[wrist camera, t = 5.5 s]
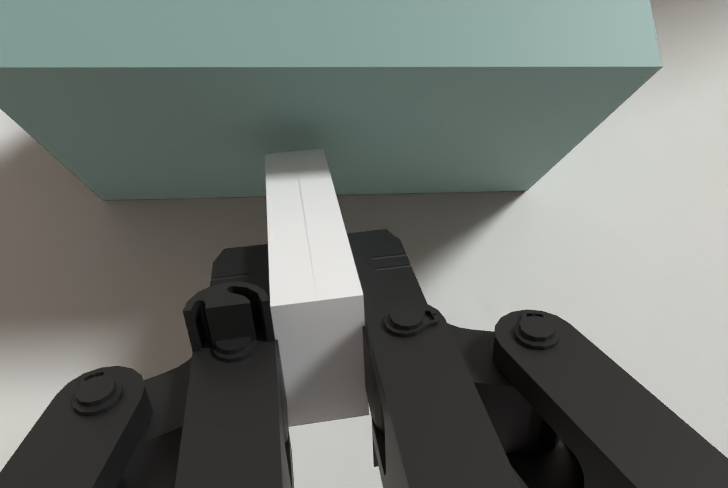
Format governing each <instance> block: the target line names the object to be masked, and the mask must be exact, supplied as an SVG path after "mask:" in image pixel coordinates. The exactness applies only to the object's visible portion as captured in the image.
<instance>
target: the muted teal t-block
mask: <svg viewBox="0 0 728 488" xmlns="http://www.w3.org/2000/svg"><path fill="white" fill-rule="evenodd" d="M662 67H663V66H662V61H661V55H660V50H659V45H658V40H657V34H656V29H655V24H654V19H653V13H652V8H651V3H650V0H0V109H1V110H3V111H4V112H5V113H6V114H7V115H8V116H9V117H10V118H12V119H13V120H14V121H15V122H16V123H17V124H18V125H19V126H20V127H22V128H23V129H24V130H25V131H26V132H27V133H28V134H29V135H31V136H32V137H33V138H34V139H35V140H36V141H37V142H38V143H39V144H41V145H42V146H43V147H44V148H45V149H46V150H47V151H48V152H50V153H51V154H52V155H53V156H54V157H55V158H56V159H57V160H58V161H60V162H61V163H62V164H63V165H64V166H65V167H66V168H67V169H69V170H70V171H71V172H72V173H73V174H74V175H75V176H76V177H77V178H79V179H80V180H81V181H82V182H83V183H84V184H85V185H86V186H88V187H89V188H90V189H91V190H92V191H93V192H94V193H95V194H96V195H98V196H99V197H100V198H101V199H102V200H134V199H178V198H223V197H266V172H265V154H270V153H281V152H291V151H302V150H313V149H324V153H325V156H326V160H327V164H328V167H329V171H330V175H331V178H332V182H333V186H334V189H335V193H336V195H357V194H402V193H446V192H491V191H527V190H528V189H529V188H530V187H532V186H533V185H534V184H535V183H536V182H537V181H538V180H539V179H540V178H541V177H542V176H544V175H545V174H546V173H547V172H548V171H549V170H550V169H551V168H552V167H553V166H555V165H556V164H557V163H558V162H559V161H560V160H561V159H562V158H563V157H564V156H565V155H567V154H568V153H569V152H570V151H571V150H572V149H573V148H574V147H575V146H576V145H577V144H579V143H580V142H581V141H582V140H583V139H584V138H585V137H586V136H587V135H588V134H589V133H591V132H592V131H593V130H594V129H595V128H596V127H597V126H598V125H599V124H600V123H602V122H603V121H604V120H605V119H606V118H607V117H608V116H609V115H610V114H611V113H612V112H614V111H615V110H616V109H617V108H618V107H619V106H620V105H621V104H622V103H623V102H624V101H626V100H627V99H628V98H629V97H630V96H631V95H632V94H633V93H634V92H635V91H636V90H638V89H639V88H640V87H641V86H642V85H643V84H644V83H645V82H646V81H647V80H649V79H650V78H651V77H652V76H653V75H654V74H655V73H656V72H657V71H658V70H659V69H661V68H662Z"/></svg>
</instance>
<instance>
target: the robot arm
mask: <svg viewBox="0 0 728 488" xmlns="http://www.w3.org/2000/svg"><path fill="white" fill-rule="evenodd" d="M265 172H266V200H267V228H268V244H264V245H255V246H246V247H237V248H228V249H224V250H223V251H222V252H221V254H220V255H219V256H218V257H217V259H216V260H215V261H214V262H213V267H212V276H211V279H212V280H211V284H210V287H209V288H206V289H204V290H202V291H200V292H198V293H197V294H196V295H195V296H193V297H192V298H191V299H190V300H189V301H188V302H187V304H186V306H185V308H184V310H183V314H184V318H185V322H186V326H187V330H188V334H189V338H190V342H191V346H192V351H193V355H192V357H191V358H190V359H189V360H188V361H187V362H185V363H184V364H182V365H180V366H179V367H177V368H175V369H173V370H170V371H168V372H166V373H163V374H161V375H158V376H155V377H152V378H149V379H147V380H144V381H143V379H142V376H141V375H140V374H139V373H137V372H136V371H135V370H133V369H131V368H126V367H121V366H113V367H103V368H99V369H96V370H93V371H90V372H87V373H84V374H82V375H81V376H79V377H77V378H76V379H74V380H72V381H71V382H69V383H68V384H67V385H66V386H65V387H64V388H63V389H62V390H61V391H60V392H59V393H58V394H57V395H56V396H55V397H54V399H53V400H52V401H51V403H50V404H49V406H48V407H47V408H46V410H45V411H44V413H43V414H42V415H41V417H40V418H39V419H38V421H37V422H36V424H35V425H34V426H33V428H32V429H31V431H30V432H29V433H28V435H27V436H26V437H25V439H24V440H23V442H22V443H21V444H20V446H19V447H18V449H17V450H16V451H15V453H14V454H13V455H12V457H11V458H10V460H9V461H8V462H7V464H6V465H5V467H4V468H3V469H2V471H1V472H0V488H294V478H293V463H292V450H291V443H290V436H289V428H288V427H290V426H297V425H304V424H310V423H317V422H324V421H331V420H337V419H344V418H351V417H357V416H364V415H369V407H370V411H371V416H372V434H373V457H374V467H376V466H379V470H380V475H381V479H382V484H383V488H728V458H727V457H725V456H724V455H723V454H722V453H721V452H720V451H718V450H717V449H716V448H715V447H714V446H712V445H711V444H710V443H709V442H708V441H707V440H705V439H704V438H703V437H702V436H701V435H700V434H698V433H697V432H696V431H695V430H694V429H693V428H691V427H690V426H689V425H688V424H687V423H686V422H684V421H683V420H682V419H681V418H680V417H678V416H677V415H676V414H675V413H674V412H673V411H671V410H670V409H669V408H668V407H667V406H666V405H664V404H663V403H662V402H661V401H660V400H659V399H657V398H656V397H655V396H654V395H653V394H651V393H650V392H649V391H648V390H647V389H646V388H644V387H643V386H642V385H641V384H640V383H639V382H637V381H636V380H635V379H634V378H633V377H632V376H630V375H629V374H628V373H627V372H626V371H625V370H623V369H622V368H621V367H620V366H619V365H617V364H616V363H615V362H614V361H613V360H612V359H610V358H609V357H608V356H607V355H606V354H605V353H603V352H602V351H601V350H600V349H599V348H598V347H596V346H595V345H594V344H593V343H592V342H590V341H589V340H588V339H587V338H586V337H585V336H583V335H582V334H581V333H580V332H579V331H578V330H576V329H575V328H574V327H573V326H572V325H571V324H569V323H568V322H566V321H565V320H563V319H561V318H560V317H558V316H556V315H553V314H550V313H547V312H543V311H536V310H521V311H515V312H511V313H509V314H507V315H505V316H503V317H501V318H500V320H499V321H498V323H497V324H496V325H495V332H492V331H481V330H471V329H465V328H459V327H456V326H453V325H450V324H448V323H447V322H446V320H445V318H444V317H443V316H442V314H441V313H440V312H439V311H438V310H437V309H435V308H433V307H432V306H430V305H428V304H427V302H426V300H425V297H424V295H423V293H422V290H421V288H420V286H419V283H418V281H417V279H416V276H415V274H414V272H413V269H412V267H411V266H410V262H409V260H408V257H407V256H406V253H405V250H404V248H403V246H402V243H401V241H400V239H398V238H397V237H396V236H394V235H393V234H391V233H390V232H389V231H387V230H386V229H384V230H375V231H366V232H357V233H348V234H347V233H346V229H345V226H344V222H343V218H342V215H341V211H340V207H339V204H338V200H337V196H336V193H335V189H334V186H333V182H332V178H331V175H330V171H329V167H328V164H327V160H326V156H325V153H324V149H313V150H302V151H291V152H281V153H270V154H265ZM368 402H369V405H368Z"/></svg>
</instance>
